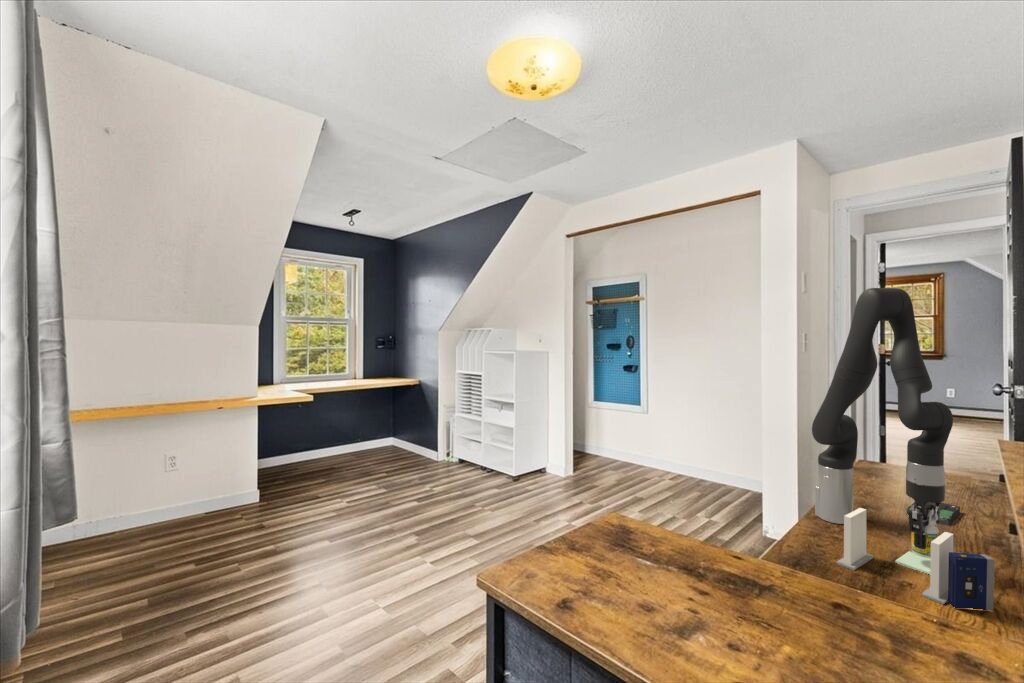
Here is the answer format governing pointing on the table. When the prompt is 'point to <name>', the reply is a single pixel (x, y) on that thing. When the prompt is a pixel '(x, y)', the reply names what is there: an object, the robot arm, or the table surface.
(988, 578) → the cassette player
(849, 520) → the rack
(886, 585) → the table surface
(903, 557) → the pad
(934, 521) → the supplement bottle
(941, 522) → the disk drive
